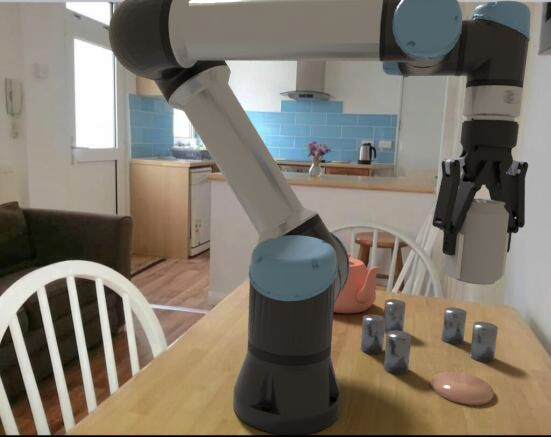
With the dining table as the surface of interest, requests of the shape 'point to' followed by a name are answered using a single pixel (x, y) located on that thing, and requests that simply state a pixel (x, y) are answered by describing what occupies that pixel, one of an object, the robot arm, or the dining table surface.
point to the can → (484, 242)
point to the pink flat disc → (462, 388)
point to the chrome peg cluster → (401, 341)
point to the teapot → (357, 288)
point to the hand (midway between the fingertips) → (473, 274)
